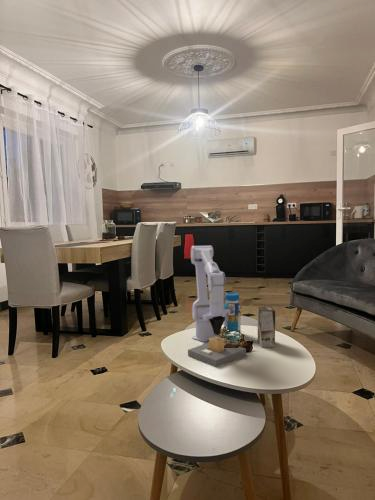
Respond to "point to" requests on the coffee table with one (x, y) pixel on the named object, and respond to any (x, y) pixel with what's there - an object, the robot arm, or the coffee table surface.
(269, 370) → the coffee table surface
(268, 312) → the coffee box
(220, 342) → the plug
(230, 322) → the beverage bottle
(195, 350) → the socket plate
